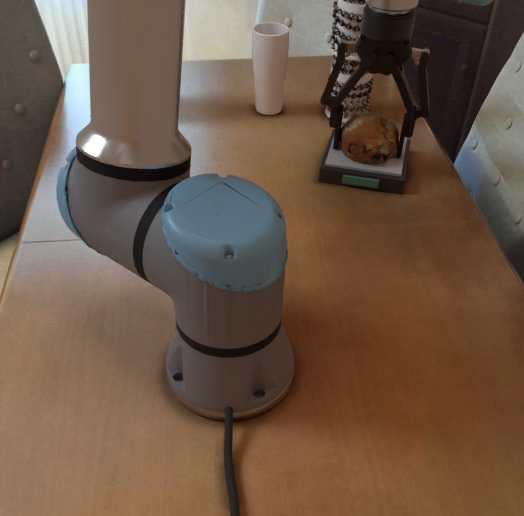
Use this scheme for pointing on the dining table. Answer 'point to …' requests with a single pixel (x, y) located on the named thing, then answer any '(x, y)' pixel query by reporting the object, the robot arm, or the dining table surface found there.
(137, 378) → the dining table surface
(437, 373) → the dining table surface
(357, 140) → the bread roll
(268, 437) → the dining table surface
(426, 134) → the dining table surface
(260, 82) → the drinking glass
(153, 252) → the robot arm
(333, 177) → the kitchen scale
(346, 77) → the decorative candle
